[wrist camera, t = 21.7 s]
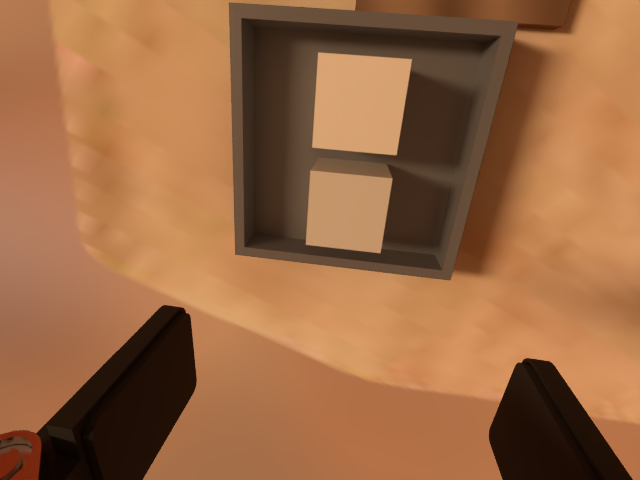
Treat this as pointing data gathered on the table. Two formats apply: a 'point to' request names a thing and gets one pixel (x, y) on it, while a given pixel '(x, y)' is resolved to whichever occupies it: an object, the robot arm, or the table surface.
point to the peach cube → (359, 102)
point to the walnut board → (478, 10)
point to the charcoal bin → (406, 167)
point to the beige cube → (348, 204)
